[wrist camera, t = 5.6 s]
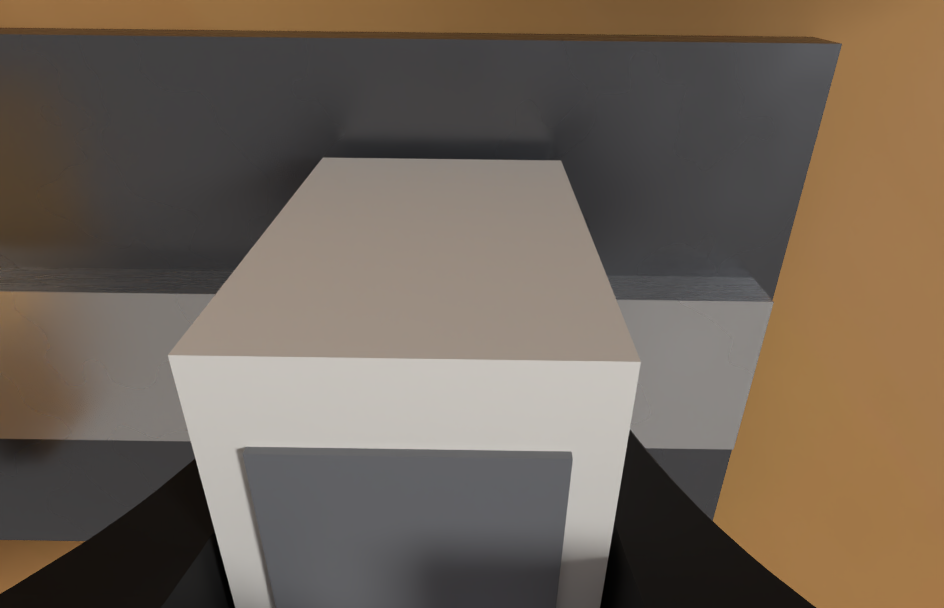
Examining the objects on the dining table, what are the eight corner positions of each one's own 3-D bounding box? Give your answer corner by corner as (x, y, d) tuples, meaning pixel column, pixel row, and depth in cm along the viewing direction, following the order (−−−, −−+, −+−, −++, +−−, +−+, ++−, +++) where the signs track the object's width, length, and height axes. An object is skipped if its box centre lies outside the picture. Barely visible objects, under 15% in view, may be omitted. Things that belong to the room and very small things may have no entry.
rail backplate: (692, 520, 17) (808, 825, 11) (-123, 507, 17) (-448, 803, 11) (813, 37, 11) (1197, 127, 5) (-422, 23, 11) (-1436, 95, 5)
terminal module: (534, 505, 14) (565, 827, 9) (359, 502, 14) (288, 822, 9) (560, 160, 11) (643, 367, 5) (322, 157, 11) (162, 361, 5)
